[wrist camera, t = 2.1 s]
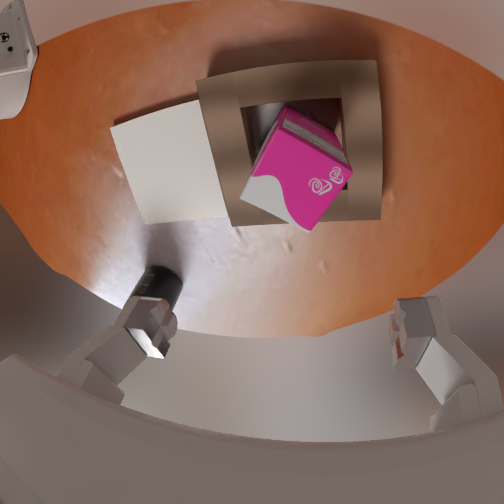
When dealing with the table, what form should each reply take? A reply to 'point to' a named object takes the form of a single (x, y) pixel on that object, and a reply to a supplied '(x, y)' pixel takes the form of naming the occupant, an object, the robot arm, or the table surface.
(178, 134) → the white rectangular plate
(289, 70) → the walnut holder
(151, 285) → the supplement bottle
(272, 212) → the supplement box
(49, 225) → the table surface
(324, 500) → the robot arm
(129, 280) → the table surface
